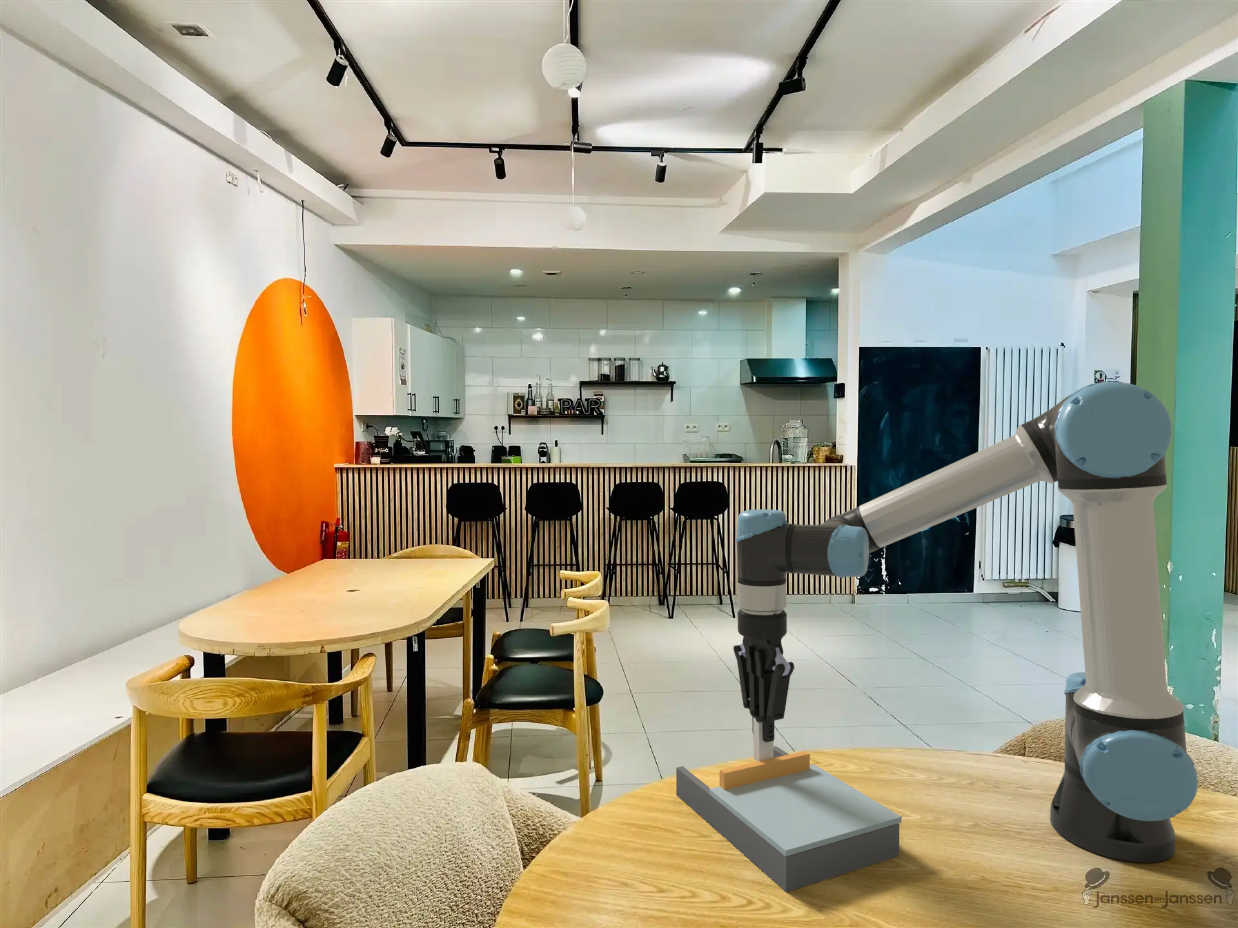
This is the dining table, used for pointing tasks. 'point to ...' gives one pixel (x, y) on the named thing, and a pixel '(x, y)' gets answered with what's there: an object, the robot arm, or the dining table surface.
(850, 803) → the lid
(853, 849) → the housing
